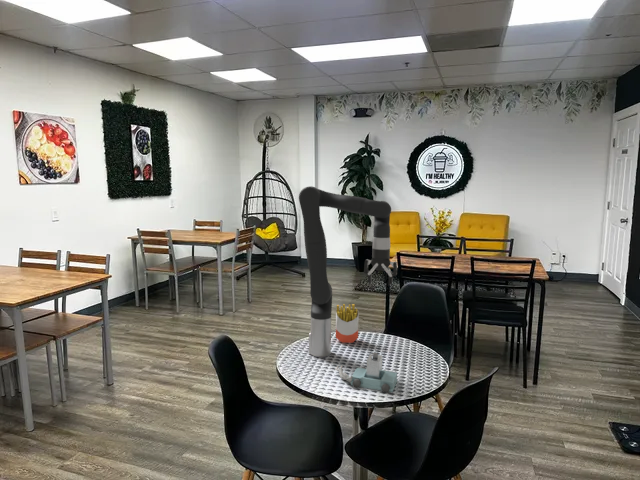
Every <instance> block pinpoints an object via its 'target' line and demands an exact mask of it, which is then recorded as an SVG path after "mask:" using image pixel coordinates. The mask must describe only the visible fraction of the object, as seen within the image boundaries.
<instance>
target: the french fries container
mask: <svg viewBox="0 0 640 480" xmlns="http://www.w3.org/2000/svg"><path fill="white" fill-rule="evenodd" d="M359 312H360V311H359V310H358V308H356V306H355V303H354V304H353V303H352V304H348V306H347V307H346V304H345V303H343V304H342V306H340V304H337V305H336V311H335V338H336V339H337V340H338V341H340V343H350V344H351V343H352V344H353V343H354V342H355V341H356V340H358V339H359V316H360V315H359Z"/></svg>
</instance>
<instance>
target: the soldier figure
mask: <svg viewBox="0 0 640 480" xmlns="http://www.w3.org/2000/svg"><path fill="white" fill-rule="evenodd" d="M334 369H335V371H337V372H338V374H339V378H341V380H342V381H347V382H348V383H349V384H351V381H352V378H353V376H352V375H351V376H350V375H348V374H347V373H346V372H345V371H344V369H343V365H337V366H336V368H334Z"/></svg>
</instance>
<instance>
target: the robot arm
mask: <svg viewBox="0 0 640 480" xmlns="http://www.w3.org/2000/svg"><path fill="white" fill-rule="evenodd" d="M298 201H299V207H300V209H301V215H302V220H303V221H302V222H303V236H304V237H303V238H304V249H305V254H306V260H307V261H306V262H307V266H308V269H309V278H310V279H309V281H310V286H309V287H310V290H309V291H310V293H309V294H310V298H311V307H310V332H309V334H308V355H311V356H312V357H318V358H325V357H329V356H330V355H331V354H332V353H331V351H332V347H331V346H332V313H333V312H332V311H333V309H332V307H333V287H332V285H331V283H330V282H329V280H328V274H327V264H328V263H327V262H328V249H327V241H326V236H325V231H324V228H323V224H322V221H321V220H322V219H321V213H320V212H321V211H320V208H321V207H322V208H323V207H324V208H332V209H337V210H340V211H344V212H348V213H353V214H358V215H359V214H360V215H367V216H371V217H373V220H374V222H373V223H374V226H373V238H372V250H371V251H372V252H371V253H372V255H371V257H372V258H371V259H368V258H367V259H365V260H364V265H363V266H364V267H363V273H364V274H366V275H367V282H368V283H369V284H370V285H371V284H372V283H373V274H372V273H373V272H374V271H378V272H379V271H380V272H384V271H385V272H386V274H387V275H388V286H391V285H392V284H393V281H394V280H393V279H394V277H396V276H397V275H398V261H391V260H390V258H391V257H390V256H391V255H390V254H391V238H390V237H391V226H390V222H391V221H390V217H391V213H392V207H391V204H389V202H387V201H386V200H374V199H368V198H366V197H362V196H361V197H360V196H353V195H348V194H347V195H346V194H339V193H334V192H329V191H325V190H322V189H319V188H317V187H315V186H312V185H311V186H306V187H303V188H302V189H301V190H300V191H299V194H298ZM370 264H371V265H372V268H371V269H370V270H369V265H370ZM390 266H391V267H392V268H393V271H391V268H390Z"/></svg>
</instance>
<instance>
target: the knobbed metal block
mask: <svg viewBox="0 0 640 480" xmlns="http://www.w3.org/2000/svg"><path fill="white" fill-rule="evenodd" d="M366 368H367V373H366V378H372V379H378V380H381V378H382V370H383V355H379V353H377V352H372V353H370V354H369V355H368V357H367V359H366Z"/></svg>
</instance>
